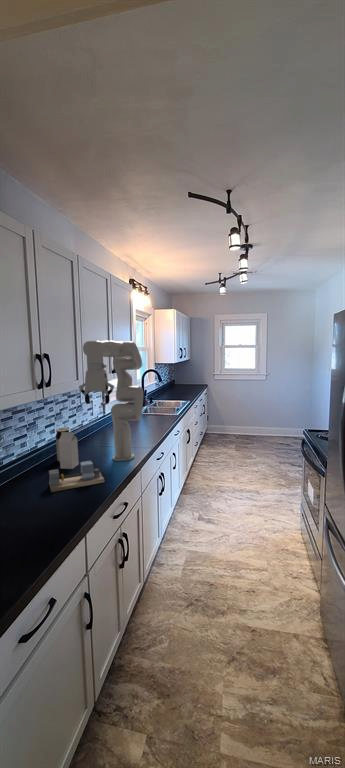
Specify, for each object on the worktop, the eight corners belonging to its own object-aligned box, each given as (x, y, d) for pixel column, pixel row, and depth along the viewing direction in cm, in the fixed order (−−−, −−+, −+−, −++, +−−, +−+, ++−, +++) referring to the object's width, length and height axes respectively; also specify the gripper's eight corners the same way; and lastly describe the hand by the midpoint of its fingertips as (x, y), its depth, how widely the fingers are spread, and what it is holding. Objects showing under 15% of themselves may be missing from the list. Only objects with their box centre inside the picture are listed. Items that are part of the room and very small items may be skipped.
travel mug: (60, 457, 204) (58, 427, 203) (73, 457, 204) (71, 427, 202) (55, 462, 197) (53, 431, 195) (69, 461, 196) (67, 430, 194)
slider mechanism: (49, 484, 164) (48, 469, 163) (100, 475, 174) (99, 460, 173) (51, 492, 155) (50, 475, 154) (104, 482, 165) (103, 466, 164)
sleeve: (81, 476, 168) (80, 462, 167) (91, 474, 170) (90, 460, 169) (83, 480, 162) (82, 465, 162) (94, 478, 164) (93, 464, 164)
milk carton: (72, 469, 184) (70, 434, 182) (60, 468, 185) (57, 434, 183) (78, 464, 191) (76, 430, 189) (67, 464, 192) (64, 430, 190)
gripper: (115, 366, 164) (117, 402, 166) (81, 367, 168) (83, 402, 169) (110, 367, 157) (112, 404, 159) (74, 368, 160) (76, 404, 162)
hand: (97, 403), depth 164 cm, fingers open, 9 cm apart
